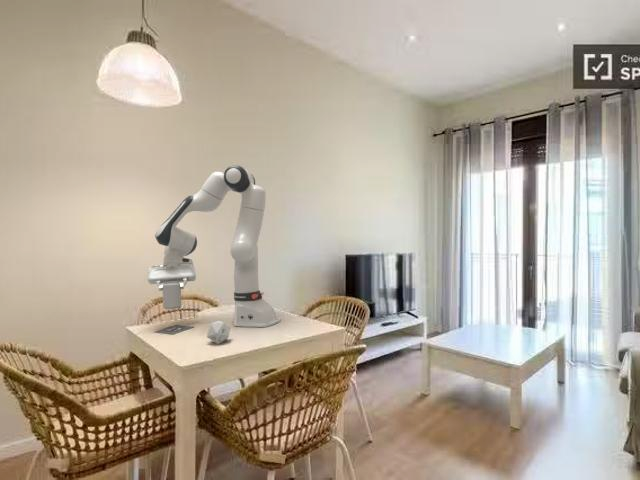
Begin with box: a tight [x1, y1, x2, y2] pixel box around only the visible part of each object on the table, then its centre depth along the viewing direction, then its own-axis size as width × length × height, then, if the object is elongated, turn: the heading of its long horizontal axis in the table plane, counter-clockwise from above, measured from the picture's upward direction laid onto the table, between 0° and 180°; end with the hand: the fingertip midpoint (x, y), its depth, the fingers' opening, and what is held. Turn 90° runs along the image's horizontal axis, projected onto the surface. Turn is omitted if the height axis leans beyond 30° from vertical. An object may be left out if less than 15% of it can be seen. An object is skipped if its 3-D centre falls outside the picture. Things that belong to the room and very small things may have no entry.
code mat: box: [153, 324, 194, 336], centre depth 159 cm, size 12×12×1 cm
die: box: [206, 320, 231, 345], centre depth 138 cm, size 8×9×10 cm
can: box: [162, 281, 182, 310], centre depth 159 cm, size 8×8×12 cm
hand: (171, 288), depth 158 cm, fingers closed on can, 7 cm apart
